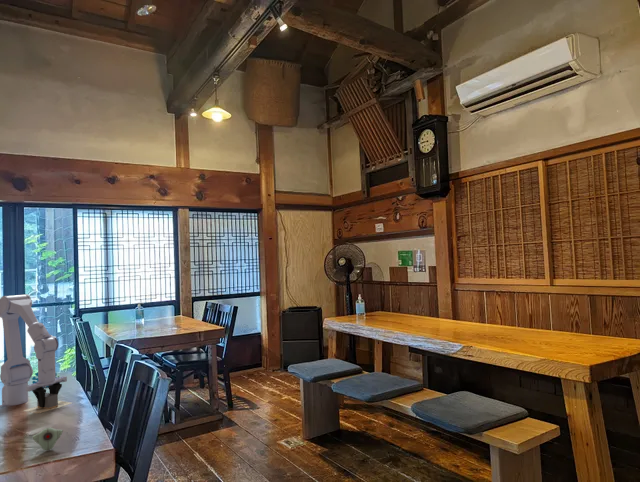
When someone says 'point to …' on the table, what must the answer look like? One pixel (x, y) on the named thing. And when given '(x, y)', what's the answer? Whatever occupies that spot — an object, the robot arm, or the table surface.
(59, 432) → the robot head
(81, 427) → the table surface
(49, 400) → the block
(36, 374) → the gear
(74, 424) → the table surface
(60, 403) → the plank
